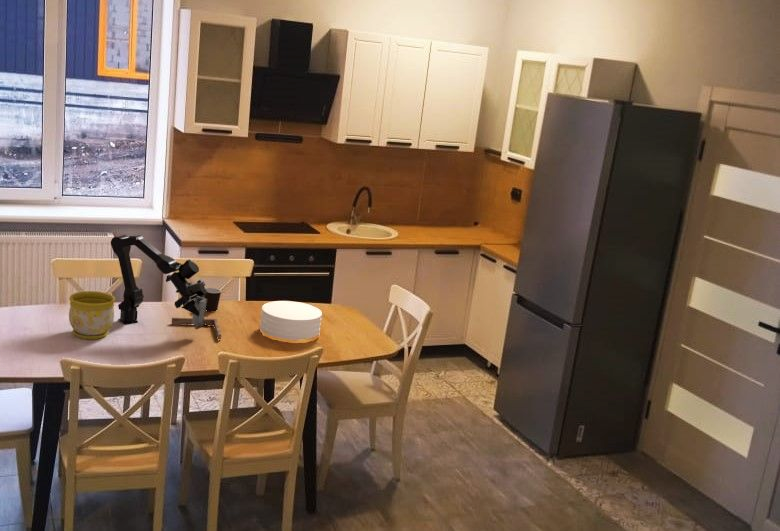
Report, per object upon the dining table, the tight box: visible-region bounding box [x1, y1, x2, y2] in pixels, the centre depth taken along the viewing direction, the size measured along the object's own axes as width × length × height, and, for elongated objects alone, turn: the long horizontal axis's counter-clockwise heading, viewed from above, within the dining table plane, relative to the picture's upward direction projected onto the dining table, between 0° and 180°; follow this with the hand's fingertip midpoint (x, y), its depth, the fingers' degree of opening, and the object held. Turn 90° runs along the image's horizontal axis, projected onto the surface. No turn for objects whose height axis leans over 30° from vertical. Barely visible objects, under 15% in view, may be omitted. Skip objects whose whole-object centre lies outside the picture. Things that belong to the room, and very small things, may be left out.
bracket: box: [192, 296, 207, 330], centre depth 347 cm, size 5×5×13 cm
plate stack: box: [259, 300, 323, 340], centre depth 372 cm, size 28×28×12 cm
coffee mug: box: [203, 287, 222, 312], centre depth 390 cm, size 12×9×10 cm
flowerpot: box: [68, 290, 116, 340], centre depth 334 cm, size 18×18×16 cm
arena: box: [171, 317, 222, 340], centre depth 356 cm, size 21×20×3 cm
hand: (201, 314), depth 347 cm, fingers closed on bracket, 5 cm apart
